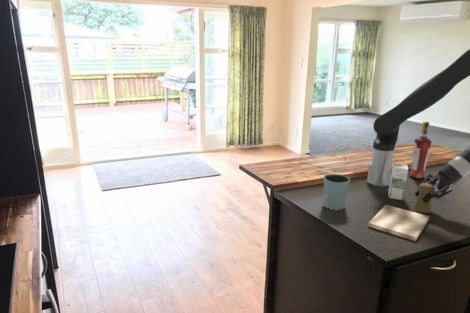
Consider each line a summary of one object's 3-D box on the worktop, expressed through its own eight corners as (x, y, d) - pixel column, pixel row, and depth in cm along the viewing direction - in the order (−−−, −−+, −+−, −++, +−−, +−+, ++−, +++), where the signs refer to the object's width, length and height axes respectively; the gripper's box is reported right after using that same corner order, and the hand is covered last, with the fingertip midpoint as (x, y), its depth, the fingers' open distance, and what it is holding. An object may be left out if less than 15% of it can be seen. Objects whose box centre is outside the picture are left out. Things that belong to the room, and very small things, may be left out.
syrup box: (401, 195, 159) (407, 164, 154) (403, 200, 153) (408, 168, 149) (387, 193, 160) (392, 162, 156) (388, 198, 155) (393, 166, 151)
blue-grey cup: (319, 208, 145) (322, 180, 142) (322, 198, 154) (325, 172, 151) (346, 212, 142) (349, 184, 138) (347, 202, 151) (350, 175, 147)
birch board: (368, 226, 131) (368, 222, 131) (385, 208, 146) (385, 204, 146) (415, 241, 122) (416, 237, 121) (428, 219, 137) (429, 216, 136)
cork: (410, 206, 148) (415, 181, 145) (425, 206, 148) (429, 181, 145) (419, 213, 142) (424, 187, 139) (434, 212, 143) (439, 186, 139)
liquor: (406, 174, 185) (415, 120, 176) (421, 175, 184) (431, 120, 175) (411, 179, 178) (420, 123, 170) (427, 180, 177) (437, 123, 169)
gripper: (439, 157, 146) (405, 185, 150) (461, 169, 133) (423, 199, 136) (449, 170, 148) (415, 197, 151) (472, 183, 134) (434, 212, 138)
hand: (419, 198), depth 144 cm, fingers closed on cork, 5 cm apart
